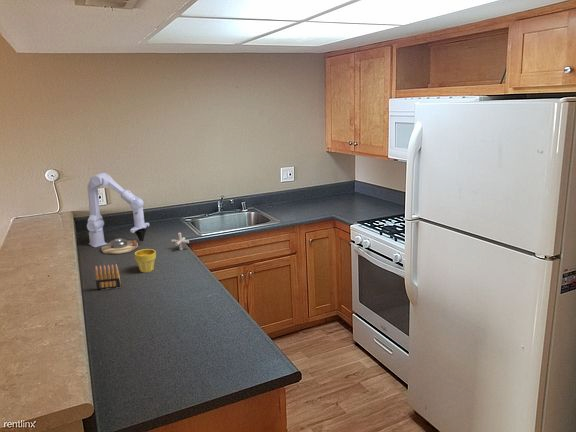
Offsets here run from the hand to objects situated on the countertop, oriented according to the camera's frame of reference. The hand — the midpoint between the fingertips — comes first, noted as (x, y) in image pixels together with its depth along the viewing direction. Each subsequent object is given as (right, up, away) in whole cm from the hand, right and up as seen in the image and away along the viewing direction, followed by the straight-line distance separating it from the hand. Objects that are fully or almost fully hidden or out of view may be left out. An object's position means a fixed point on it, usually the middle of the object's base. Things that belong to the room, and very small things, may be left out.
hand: (141, 240), depth 269 cm
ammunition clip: (+3, -19, -57) cm, 60 cm away
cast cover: (-11, -3, -5) cm, 13 cm away
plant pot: (+15, -13, -37) cm, 41 cm away
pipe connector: (+25, -5, -8) cm, 27 cm away
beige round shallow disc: (-11, -4, -4) cm, 13 cm away
